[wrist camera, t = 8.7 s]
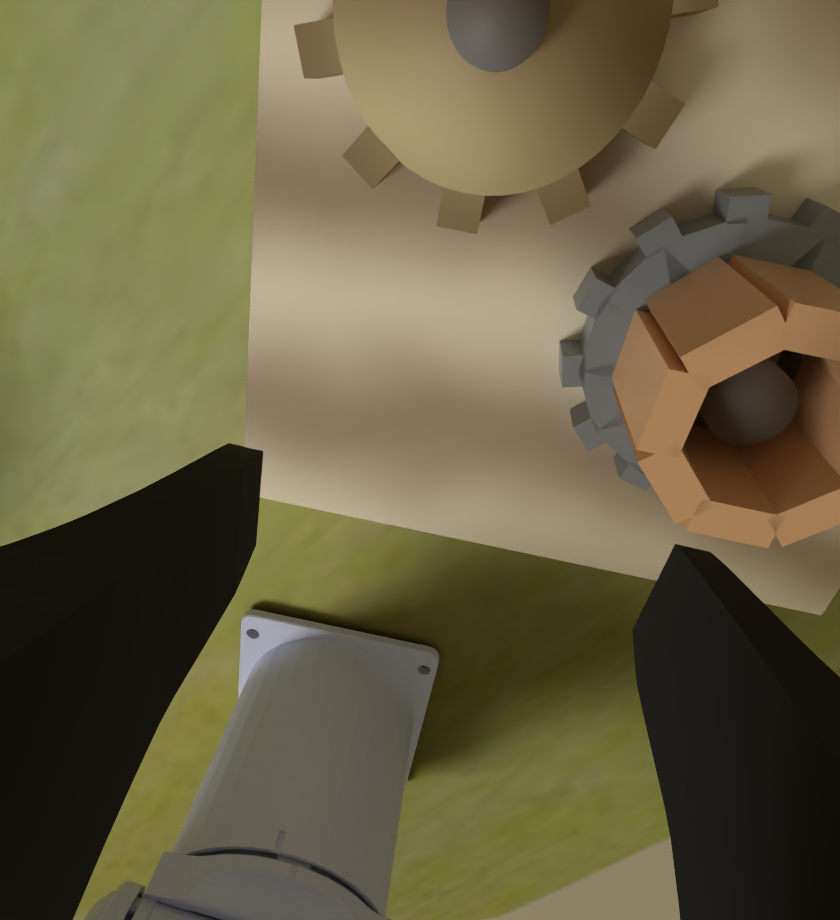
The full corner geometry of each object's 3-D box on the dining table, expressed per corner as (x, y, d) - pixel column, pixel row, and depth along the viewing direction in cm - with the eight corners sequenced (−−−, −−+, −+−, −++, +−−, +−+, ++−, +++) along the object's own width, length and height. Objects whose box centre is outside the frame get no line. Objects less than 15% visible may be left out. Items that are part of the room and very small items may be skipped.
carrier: (809, 595, 23) (871, 699, 19) (252, 478, 23) (201, 557, 19) (1292, -162, 13) (1633, -269, 9) (292, -356, 13) (201, -540, 9)
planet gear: (791, 502, 20) (872, 622, 16) (527, 446, 20) (533, 550, 16) (947, 226, 16) (1119, 283, 11) (614, 158, 16) (655, 187, 12)
